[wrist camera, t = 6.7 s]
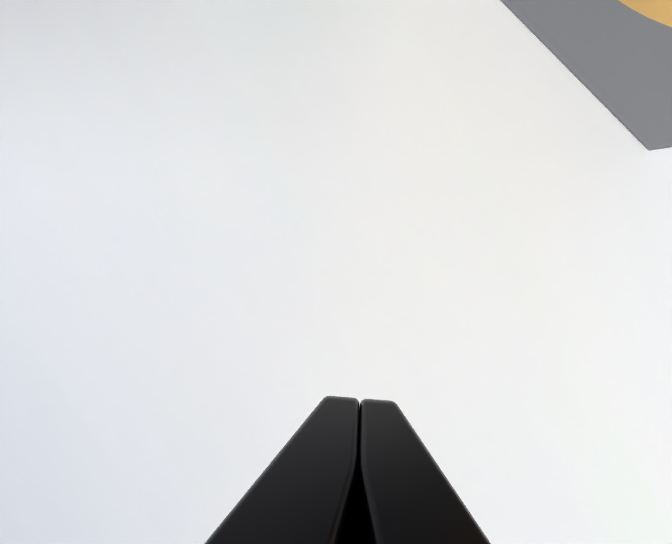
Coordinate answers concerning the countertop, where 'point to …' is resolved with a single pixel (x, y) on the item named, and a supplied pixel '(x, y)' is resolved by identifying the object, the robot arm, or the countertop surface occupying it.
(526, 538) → the countertop surface
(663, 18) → the button
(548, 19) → the block
